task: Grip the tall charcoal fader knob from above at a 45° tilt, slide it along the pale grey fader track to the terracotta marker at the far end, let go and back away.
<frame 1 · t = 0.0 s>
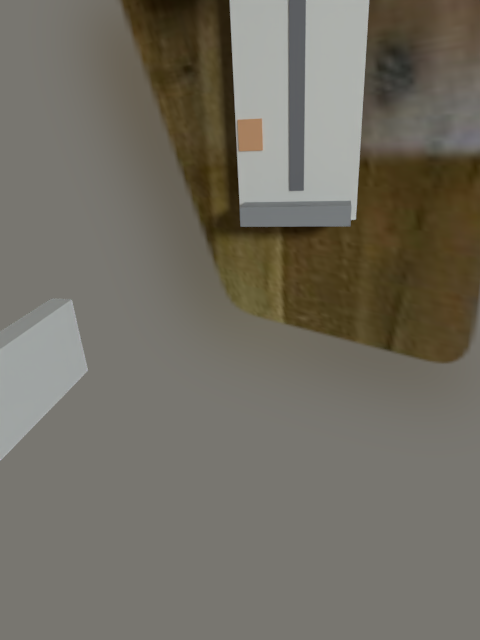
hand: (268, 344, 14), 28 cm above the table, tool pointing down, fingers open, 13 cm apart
fader base: (299, 17, 33), on the table
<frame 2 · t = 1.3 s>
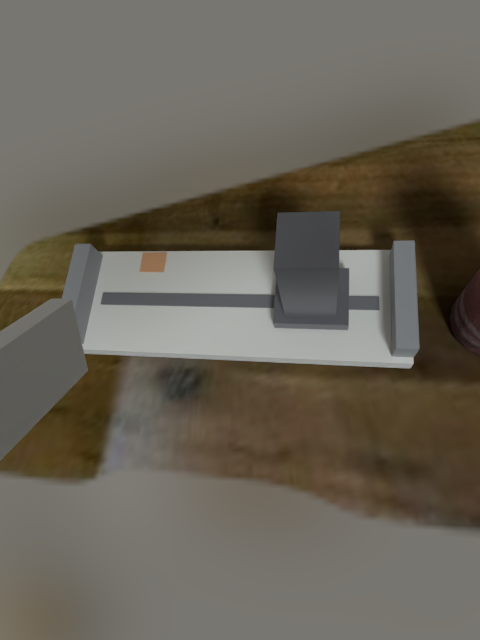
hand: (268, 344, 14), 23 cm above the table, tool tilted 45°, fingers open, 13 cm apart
fader base: (234, 307, 40), on the table
fader knob: (309, 274, 32), point 7 cm above the table, slide at -7.0 cm
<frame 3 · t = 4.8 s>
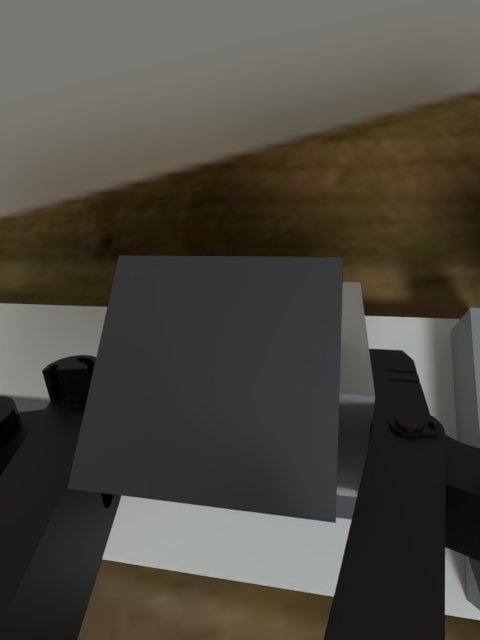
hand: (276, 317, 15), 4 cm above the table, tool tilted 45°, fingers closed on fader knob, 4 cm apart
fader base: (122, 424, 19), on the table
fader knob: (256, 415, 12), point 7 cm above the table, slide at -7.0 cm, touching gripper
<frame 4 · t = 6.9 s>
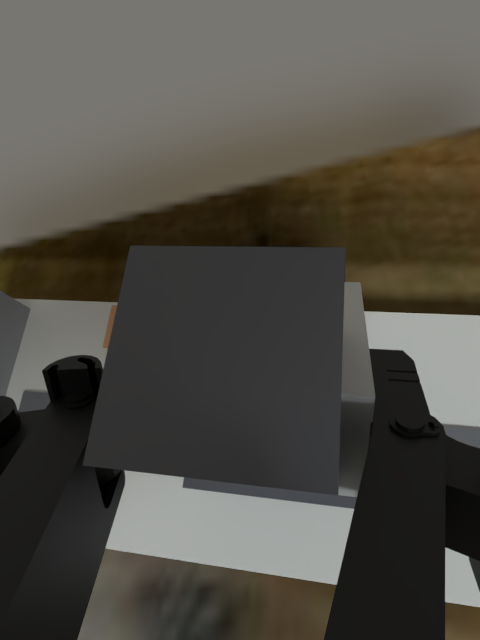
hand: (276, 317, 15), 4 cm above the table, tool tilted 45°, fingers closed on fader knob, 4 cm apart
fader base: (310, 435, 18), on the table
fader knob: (258, 404, 12), point 7 cm above the table, slide at 1.2 cm, touching gripper
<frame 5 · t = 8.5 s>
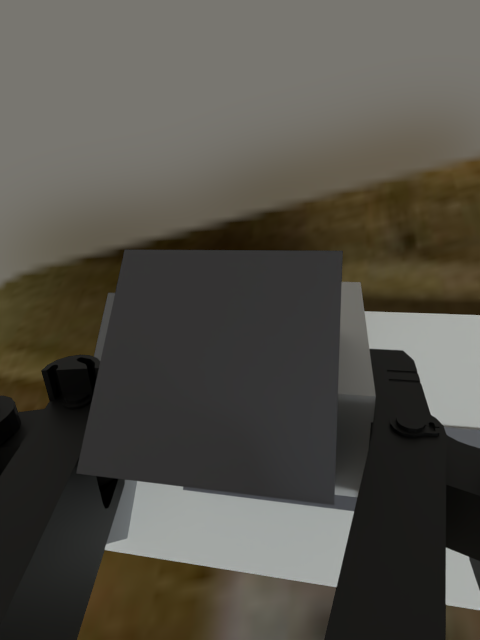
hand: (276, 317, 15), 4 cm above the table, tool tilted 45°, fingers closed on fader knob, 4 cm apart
fader knob: (258, 407, 12), point 7 cm above the table, slide at 8.0 cm, touching gripper
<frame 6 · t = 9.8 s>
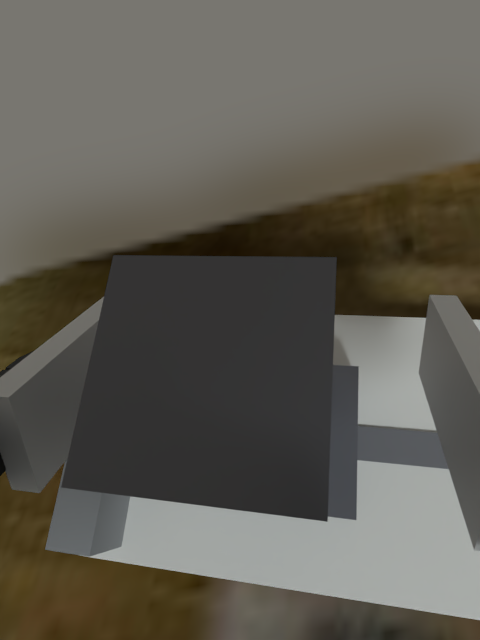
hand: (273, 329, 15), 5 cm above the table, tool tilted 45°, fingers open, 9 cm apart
fader knob: (252, 414, 12), point 7 cm above the table, slide at 8.1 cm
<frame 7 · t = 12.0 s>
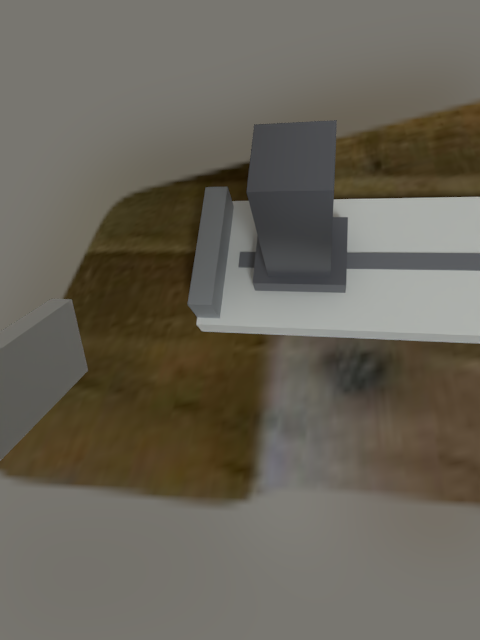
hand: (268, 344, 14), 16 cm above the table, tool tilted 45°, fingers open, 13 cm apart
fader base: (420, 271, 30), on the table
fader knob: (297, 216, 25), point 7 cm above the table, slide at 8.1 cm
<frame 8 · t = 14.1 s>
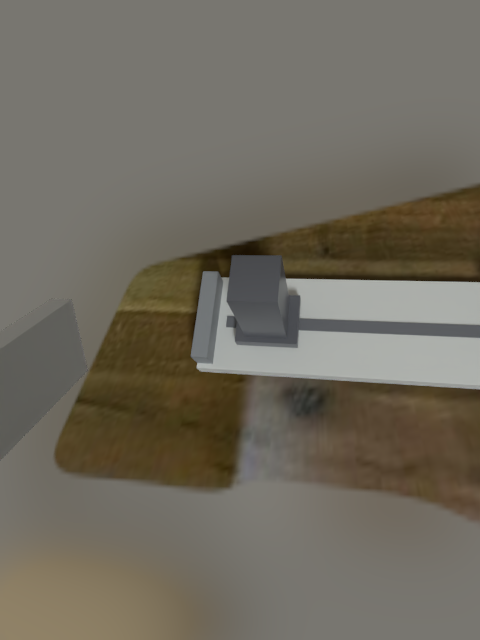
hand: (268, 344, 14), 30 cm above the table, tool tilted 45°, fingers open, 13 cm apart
fader base: (351, 331, 44), on the table
fader knob: (262, 302, 39), point 7 cm above the table, slide at 8.1 cm
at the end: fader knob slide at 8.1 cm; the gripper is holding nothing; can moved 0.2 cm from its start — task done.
